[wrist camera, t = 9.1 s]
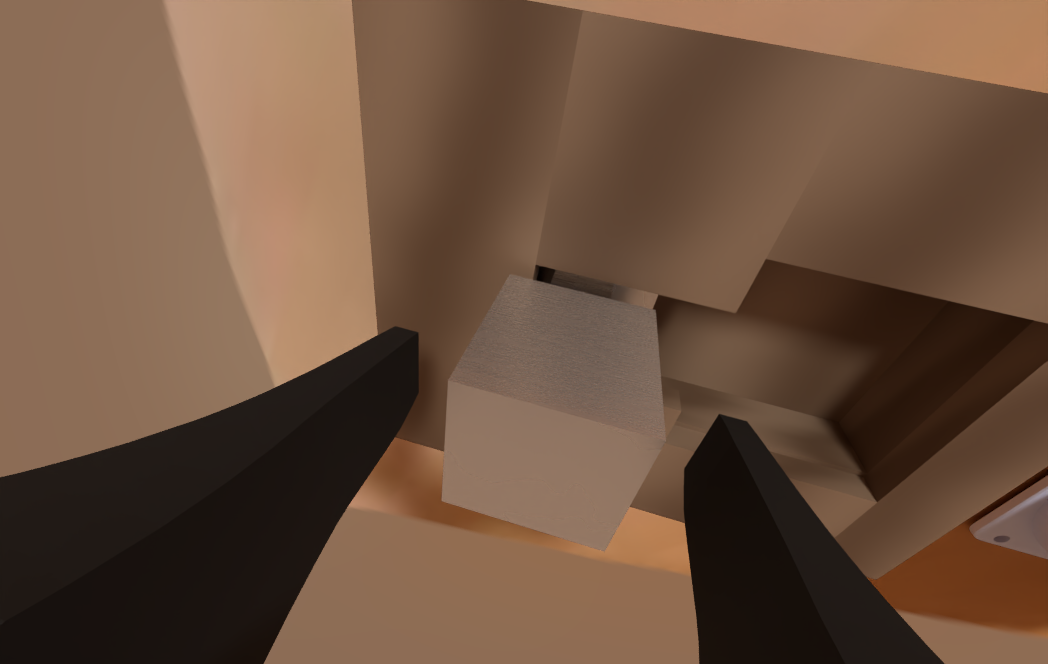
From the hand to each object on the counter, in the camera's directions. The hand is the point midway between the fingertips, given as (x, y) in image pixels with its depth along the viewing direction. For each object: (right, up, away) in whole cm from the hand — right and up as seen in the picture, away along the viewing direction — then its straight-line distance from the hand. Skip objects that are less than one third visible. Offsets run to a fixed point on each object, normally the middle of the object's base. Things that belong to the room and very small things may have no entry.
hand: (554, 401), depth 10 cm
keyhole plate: (+5, +3, +6) cm, 8 cm away
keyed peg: (+1, +3, +5) cm, 7 cm away
